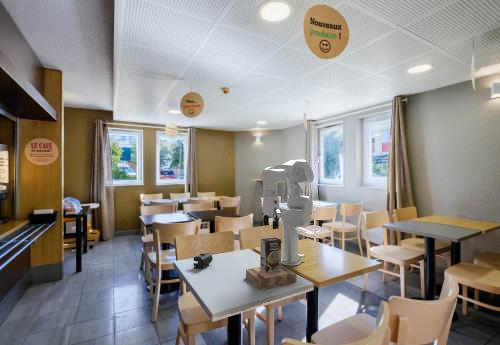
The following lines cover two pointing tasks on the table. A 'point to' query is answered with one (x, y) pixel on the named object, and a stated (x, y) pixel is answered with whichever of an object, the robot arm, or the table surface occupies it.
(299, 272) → the table surface
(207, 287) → the table surface
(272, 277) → the stand
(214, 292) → the table surface
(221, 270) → the table surface
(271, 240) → the coffee box
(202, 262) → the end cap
